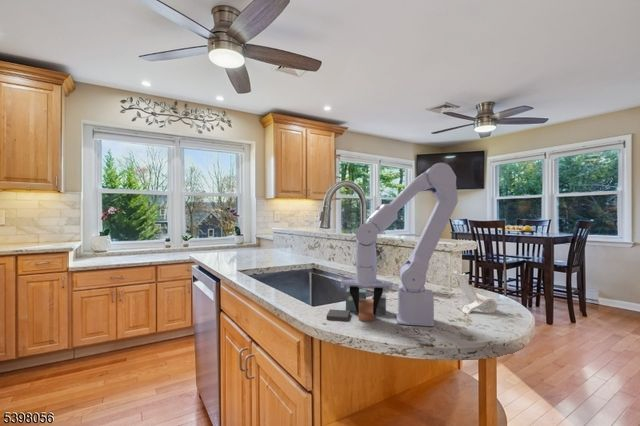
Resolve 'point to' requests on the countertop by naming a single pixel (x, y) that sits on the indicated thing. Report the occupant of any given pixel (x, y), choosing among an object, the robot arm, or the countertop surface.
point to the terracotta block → (366, 309)
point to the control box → (349, 300)
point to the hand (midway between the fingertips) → (366, 313)
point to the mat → (338, 315)
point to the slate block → (381, 305)
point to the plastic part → (475, 297)
